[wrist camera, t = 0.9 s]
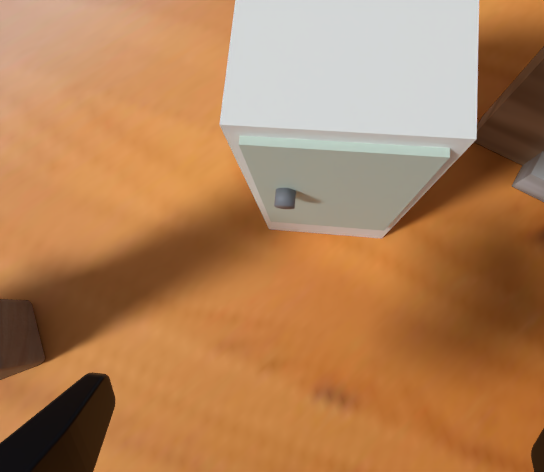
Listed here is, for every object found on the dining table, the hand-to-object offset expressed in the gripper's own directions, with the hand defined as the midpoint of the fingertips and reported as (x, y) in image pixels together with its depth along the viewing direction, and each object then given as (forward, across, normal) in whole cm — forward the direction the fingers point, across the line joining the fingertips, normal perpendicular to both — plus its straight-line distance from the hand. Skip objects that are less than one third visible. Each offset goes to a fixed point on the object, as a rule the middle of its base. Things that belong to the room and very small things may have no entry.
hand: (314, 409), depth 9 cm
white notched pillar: (+16, 0, +2) cm, 16 cm away
